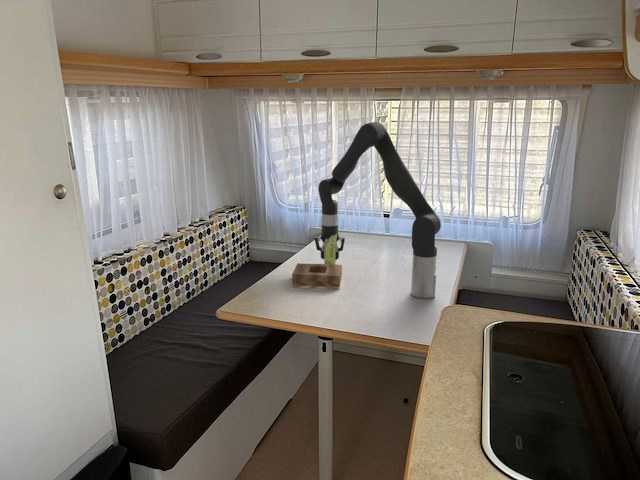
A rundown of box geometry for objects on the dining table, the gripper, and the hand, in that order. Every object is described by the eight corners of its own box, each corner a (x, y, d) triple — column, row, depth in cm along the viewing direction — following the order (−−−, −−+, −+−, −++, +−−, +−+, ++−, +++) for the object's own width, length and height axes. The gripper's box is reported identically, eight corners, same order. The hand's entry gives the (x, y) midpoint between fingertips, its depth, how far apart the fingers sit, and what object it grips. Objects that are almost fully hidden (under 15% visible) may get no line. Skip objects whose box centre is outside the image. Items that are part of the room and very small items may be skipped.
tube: (325, 275, 217) (325, 233, 211) (322, 271, 221) (321, 230, 216) (337, 273, 218) (337, 232, 213) (333, 270, 223) (333, 229, 217)
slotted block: (341, 277, 213) (341, 264, 212) (339, 289, 200) (339, 275, 198) (297, 275, 216) (297, 263, 214) (292, 287, 202) (292, 274, 201)
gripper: (312, 225, 211) (313, 261, 215) (345, 225, 209) (345, 262, 214) (314, 220, 218) (315, 256, 222) (346, 221, 216) (346, 257, 221)
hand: (329, 259), depth 218 cm, fingers closed on tube, 5 cm apart
